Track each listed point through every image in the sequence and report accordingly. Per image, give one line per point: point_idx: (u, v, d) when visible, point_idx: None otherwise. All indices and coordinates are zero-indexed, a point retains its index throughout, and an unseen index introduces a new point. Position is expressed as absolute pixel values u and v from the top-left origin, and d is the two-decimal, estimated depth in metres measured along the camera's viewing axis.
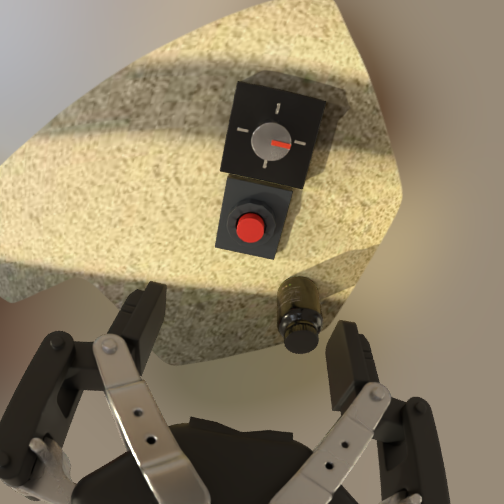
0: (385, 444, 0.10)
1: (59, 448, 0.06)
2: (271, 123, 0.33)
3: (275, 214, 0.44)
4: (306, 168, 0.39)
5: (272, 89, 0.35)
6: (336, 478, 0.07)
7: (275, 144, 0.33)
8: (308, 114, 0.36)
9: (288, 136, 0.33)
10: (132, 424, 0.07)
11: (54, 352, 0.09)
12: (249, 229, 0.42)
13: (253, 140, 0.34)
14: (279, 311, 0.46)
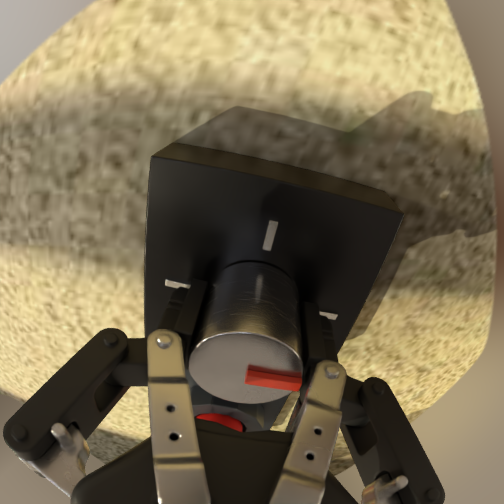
0: (350, 429, 0.11)
1: (81, 439, 0.07)
2: (243, 332, 0.10)
3: (263, 404, 0.22)
4: None
5: (254, 179, 0.12)
6: (321, 466, 0.07)
7: None
8: (353, 250, 0.14)
9: (296, 363, 0.11)
10: (161, 417, 0.07)
11: (105, 348, 0.09)
12: None
13: (194, 366, 0.11)
14: None
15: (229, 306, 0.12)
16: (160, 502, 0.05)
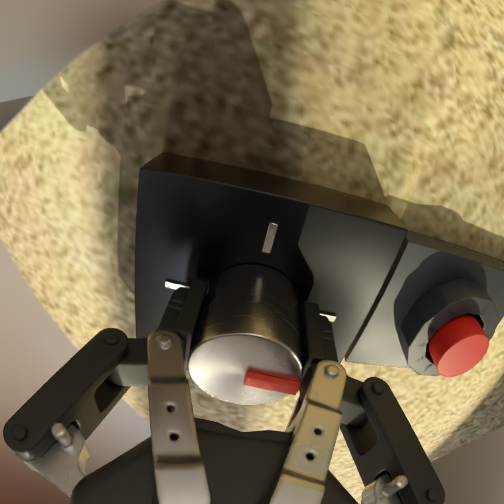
0: (349, 429, 0.11)
1: (81, 439, 0.07)
2: (248, 334, 0.10)
3: (449, 278, 0.16)
4: (349, 219, 0.13)
5: (137, 293, 0.16)
6: (321, 466, 0.07)
7: (256, 383, 0.11)
8: (185, 215, 0.13)
9: (296, 367, 0.11)
10: (161, 417, 0.07)
11: (105, 348, 0.09)
12: (462, 358, 0.14)
13: (193, 365, 0.11)
14: None
15: (233, 307, 0.12)
16: (160, 502, 0.05)
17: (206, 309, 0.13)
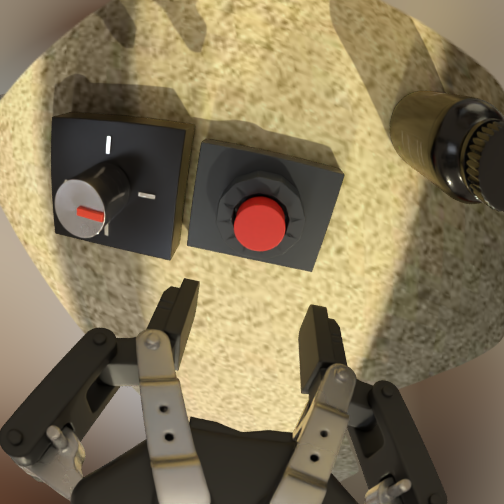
0: (357, 431, 0.10)
1: (76, 440, 0.07)
2: (75, 180, 0.18)
3: (247, 170, 0.23)
4: (147, 127, 0.21)
5: (52, 191, 0.24)
6: (324, 468, 0.07)
7: (82, 214, 0.19)
8: (71, 138, 0.21)
9: (99, 201, 0.19)
10: (155, 418, 0.07)
11: (94, 348, 0.09)
12: (257, 229, 0.22)
13: (57, 206, 0.19)
14: None
15: (77, 174, 0.20)
16: None
17: None
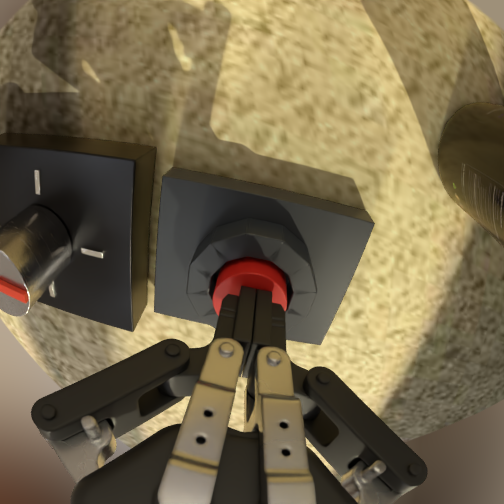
0: (304, 422, 0.11)
1: (110, 436, 0.07)
2: None
3: (231, 218, 0.16)
4: (82, 157, 0.13)
5: None
6: (300, 459, 0.07)
7: None
8: None
9: (17, 275, 0.11)
10: (195, 419, 0.08)
11: (164, 358, 0.10)
12: None
13: None
14: None
15: None
16: (158, 494, 0.05)
17: None
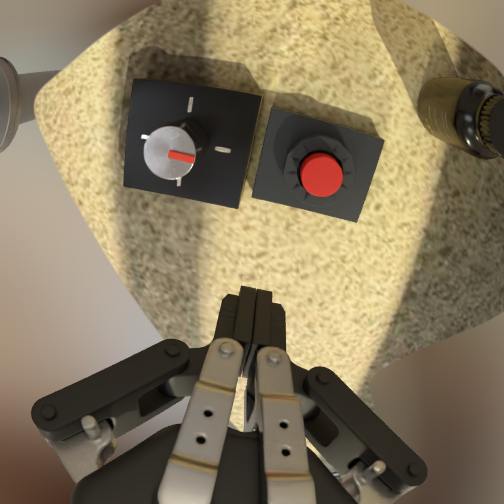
0: (304, 422, 0.11)
1: (110, 436, 0.07)
2: (169, 127, 0.22)
3: (308, 133, 0.27)
4: (228, 92, 0.25)
5: (127, 145, 0.28)
6: (300, 459, 0.07)
7: (173, 156, 0.23)
8: (152, 98, 0.25)
9: (191, 145, 0.23)
10: (195, 419, 0.08)
11: (164, 358, 0.10)
12: (321, 177, 0.26)
13: (146, 150, 0.23)
14: (461, 149, 0.21)
15: None
16: (159, 494, 0.05)
17: None
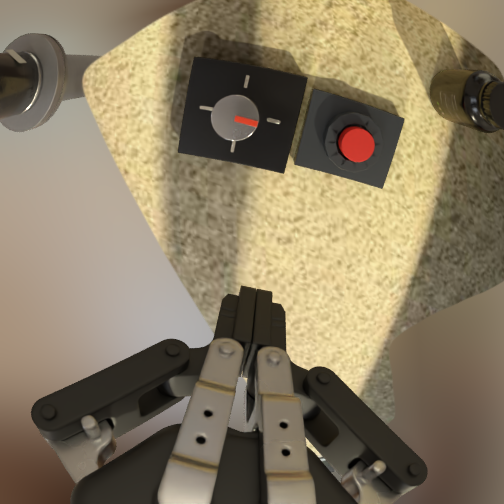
0: (304, 422, 0.11)
1: (110, 436, 0.07)
2: (236, 95, 0.26)
3: (344, 110, 0.31)
4: (279, 72, 0.29)
5: (184, 115, 0.31)
6: (300, 459, 0.07)
7: (239, 120, 0.27)
8: (211, 74, 0.29)
9: (255, 111, 0.27)
10: (195, 419, 0.08)
11: (163, 358, 0.10)
12: (357, 145, 0.30)
13: (213, 115, 0.27)
14: (467, 125, 0.25)
15: None
16: (159, 494, 0.05)
17: None
